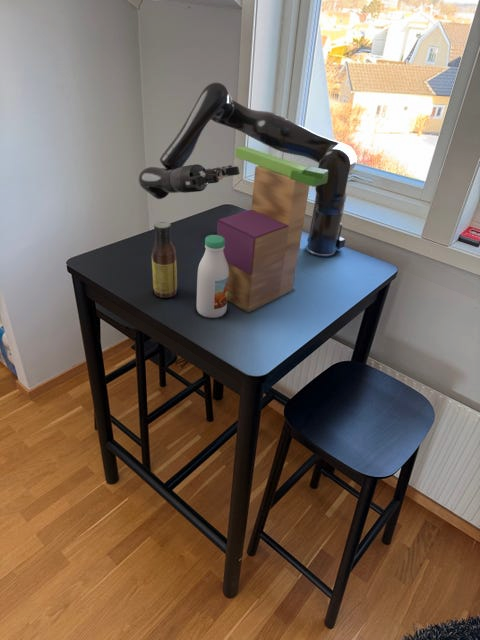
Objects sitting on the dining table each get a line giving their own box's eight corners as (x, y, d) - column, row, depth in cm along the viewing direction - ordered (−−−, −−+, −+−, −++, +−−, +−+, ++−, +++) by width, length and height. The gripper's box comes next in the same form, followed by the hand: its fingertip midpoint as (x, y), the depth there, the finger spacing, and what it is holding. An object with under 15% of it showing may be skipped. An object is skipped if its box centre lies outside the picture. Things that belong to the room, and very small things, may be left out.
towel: (215, 256, 121) (217, 219, 115) (248, 244, 128) (251, 209, 122) (250, 275, 114) (254, 237, 108) (282, 261, 121) (287, 225, 116)
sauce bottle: (164, 284, 128) (163, 216, 117) (182, 292, 125) (182, 223, 114) (147, 293, 124) (144, 223, 113) (165, 302, 121) (163, 231, 110)
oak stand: (213, 292, 127) (220, 174, 109) (258, 272, 138) (271, 162, 120) (248, 312, 120) (260, 190, 102) (292, 290, 131) (311, 176, 113)
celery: (232, 157, 121) (233, 146, 120) (247, 154, 125) (248, 143, 123) (315, 187, 106) (317, 175, 105) (330, 183, 110) (332, 171, 108)
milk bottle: (202, 321, 115) (205, 247, 104) (192, 304, 121) (193, 233, 110) (231, 315, 118) (236, 243, 107) (220, 300, 124) (224, 229, 113)
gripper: (167, 172, 132) (206, 166, 121) (202, 160, 141) (242, 154, 130) (174, 198, 135) (213, 195, 124) (208, 185, 144) (247, 181, 133)
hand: (228, 174), depth 127 cm, fingers open, 8 cm apart
